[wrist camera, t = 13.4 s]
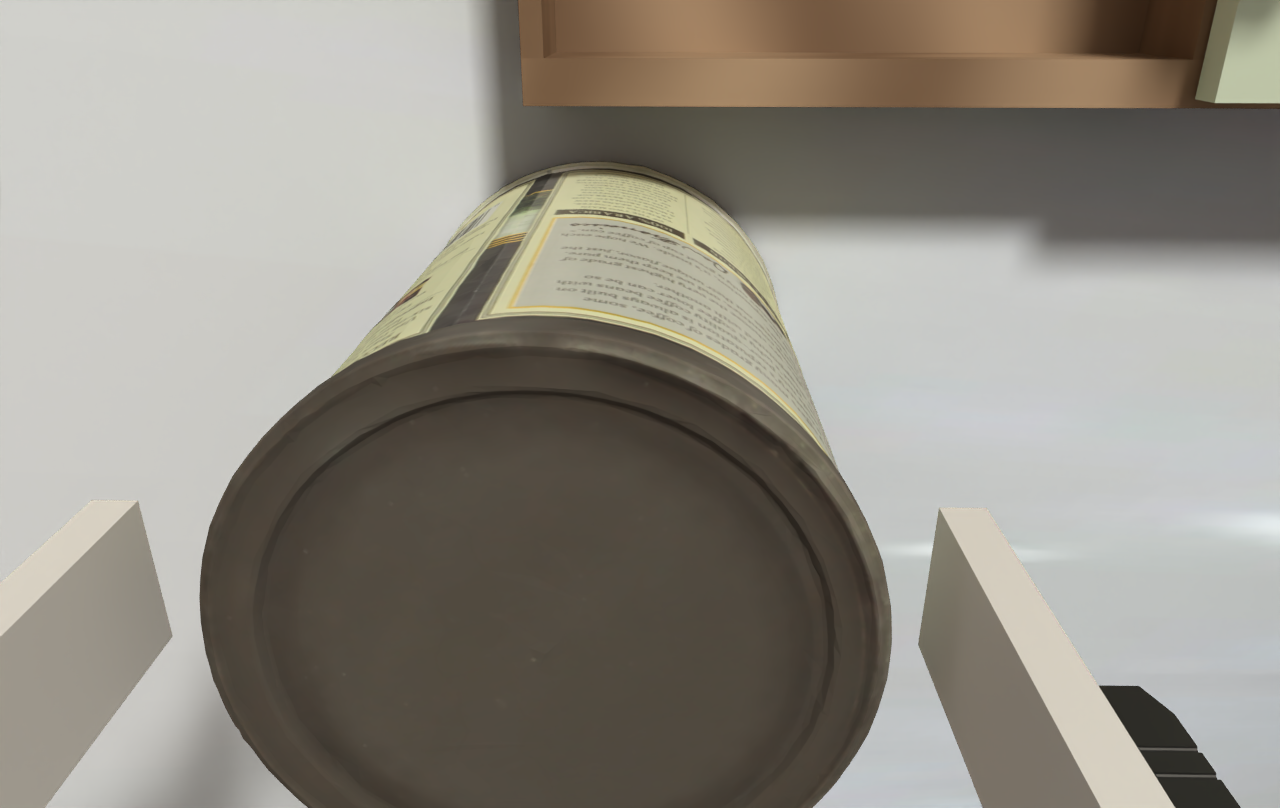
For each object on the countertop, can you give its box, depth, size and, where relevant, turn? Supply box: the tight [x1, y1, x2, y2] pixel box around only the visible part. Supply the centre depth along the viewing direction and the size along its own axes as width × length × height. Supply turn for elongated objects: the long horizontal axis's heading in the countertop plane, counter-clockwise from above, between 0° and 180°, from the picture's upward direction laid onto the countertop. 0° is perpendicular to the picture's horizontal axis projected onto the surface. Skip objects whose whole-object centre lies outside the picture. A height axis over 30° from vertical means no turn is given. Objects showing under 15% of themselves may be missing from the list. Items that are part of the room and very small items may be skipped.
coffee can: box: [200, 162, 892, 808], centre depth 20 cm, size 10×10×14 cm
